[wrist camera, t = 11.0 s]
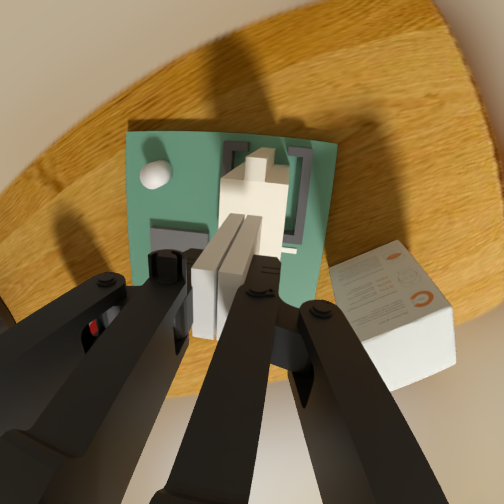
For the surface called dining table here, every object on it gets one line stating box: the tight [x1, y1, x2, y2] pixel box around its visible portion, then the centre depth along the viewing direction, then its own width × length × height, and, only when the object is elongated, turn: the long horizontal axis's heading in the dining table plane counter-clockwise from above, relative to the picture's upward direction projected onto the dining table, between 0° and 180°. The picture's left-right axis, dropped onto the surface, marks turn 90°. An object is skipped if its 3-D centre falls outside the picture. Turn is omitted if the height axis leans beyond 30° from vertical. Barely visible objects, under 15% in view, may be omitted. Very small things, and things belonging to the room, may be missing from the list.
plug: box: [218, 147, 290, 260], centre depth 23 cm, size 4×6×10 cm, turn 176°
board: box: [126, 131, 338, 308], centre depth 30 cm, size 20×18×4 cm
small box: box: [329, 240, 456, 392], centre depth 25 cm, size 8×6×13 cm
